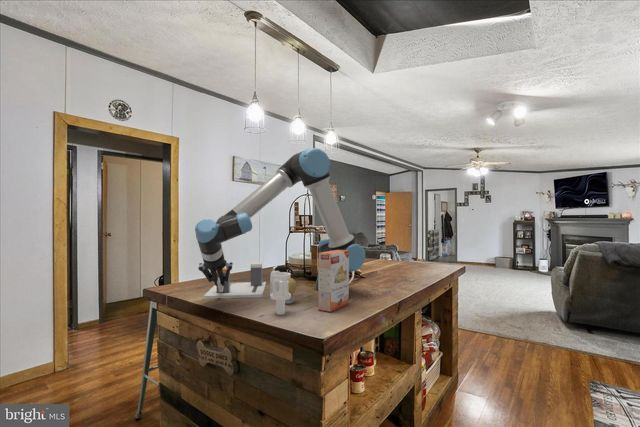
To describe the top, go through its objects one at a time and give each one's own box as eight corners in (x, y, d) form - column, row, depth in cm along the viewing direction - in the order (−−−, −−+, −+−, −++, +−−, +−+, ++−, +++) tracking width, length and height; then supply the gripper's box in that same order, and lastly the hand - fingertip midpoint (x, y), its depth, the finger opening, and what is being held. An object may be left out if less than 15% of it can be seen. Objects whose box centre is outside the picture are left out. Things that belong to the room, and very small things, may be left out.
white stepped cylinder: (266, 312, 117) (266, 270, 117) (284, 309, 121) (283, 268, 121) (277, 317, 112) (276, 273, 112) (294, 313, 116) (294, 270, 116)
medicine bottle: (289, 291, 149) (289, 265, 149) (286, 295, 142) (286, 267, 142) (273, 291, 150) (273, 264, 150) (269, 295, 143) (269, 267, 143)
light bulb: (278, 305, 127) (278, 279, 127) (282, 300, 133) (282, 275, 133) (294, 305, 126) (294, 279, 126) (298, 301, 133) (298, 276, 133)
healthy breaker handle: (261, 285, 156) (261, 264, 156) (250, 285, 155) (250, 264, 155) (262, 283, 160) (262, 262, 160) (251, 283, 159) (251, 263, 159)
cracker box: (331, 313, 117) (331, 253, 117) (317, 310, 120) (317, 252, 120) (350, 303, 128) (349, 249, 128) (336, 301, 132) (336, 249, 132)
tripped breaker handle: (228, 292, 142) (228, 269, 142) (216, 292, 141) (216, 269, 141) (230, 290, 146) (230, 267, 146) (218, 290, 145) (218, 267, 145)
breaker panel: (262, 297, 139) (262, 294, 139) (203, 299, 137) (203, 295, 137) (266, 284, 165) (266, 281, 165) (216, 285, 163) (216, 282, 163)
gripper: (231, 245, 126) (238, 281, 143) (196, 246, 125) (207, 281, 142) (229, 261, 121) (236, 296, 138) (192, 262, 120) (204, 297, 136)
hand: (221, 288), depth 140 cm, fingers closed
